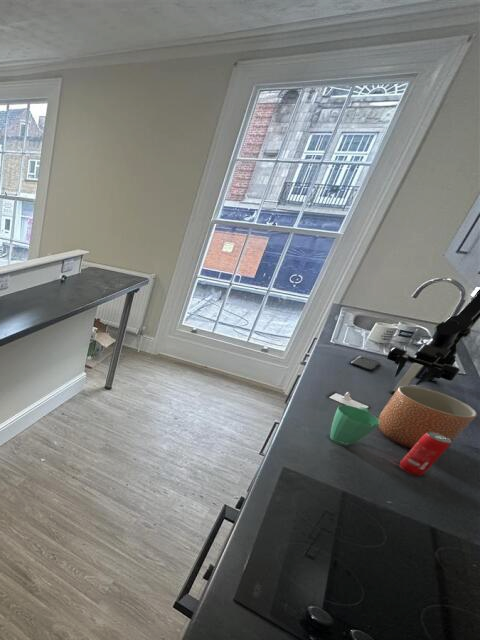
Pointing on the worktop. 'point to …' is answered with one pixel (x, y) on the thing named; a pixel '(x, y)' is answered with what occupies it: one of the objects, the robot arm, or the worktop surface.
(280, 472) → the worktop surface
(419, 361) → the robot arm
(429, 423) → the planter
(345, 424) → the mug
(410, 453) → the beverage can
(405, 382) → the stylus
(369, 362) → the smartphone
